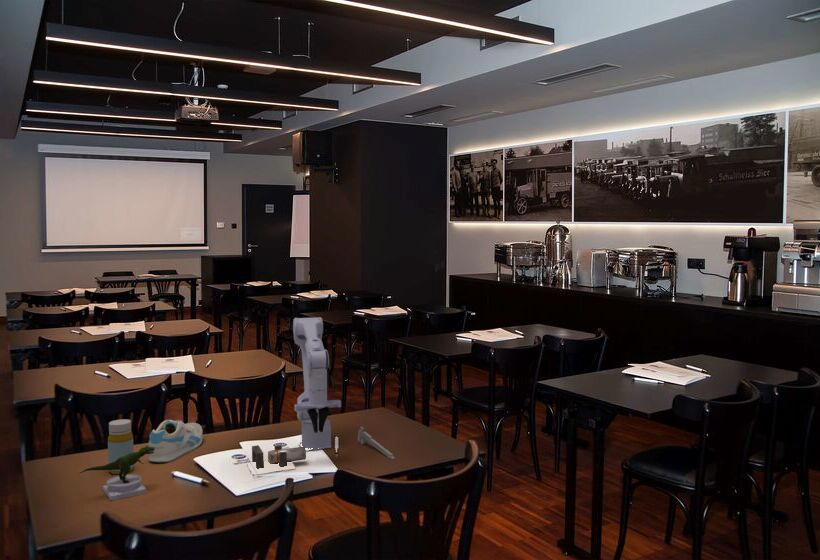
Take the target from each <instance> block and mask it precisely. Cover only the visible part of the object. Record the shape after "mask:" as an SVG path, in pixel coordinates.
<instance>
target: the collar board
mask: <svg viewBox="0 0 820 560" xmlns="http://www.w3.org/2000/svg"><path fill="white" fill-rule="evenodd" d="M281 449H283V445H282V444H279V445H278V444H277V445H274V450H281ZM264 461H265V460H264V452H263V450H262V448H261V447H260V445H259V444H258V445H251V462H256V468H257V469H259V468H264ZM279 466H280V467H284V466H287V452H286V451H283V452H279Z"/></svg>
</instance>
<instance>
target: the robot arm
mask: <svg viewBox="0 0 820 560" xmlns="http://www.w3.org/2000/svg"><path fill="white" fill-rule="evenodd" d="M292 331H293V341H294V344H295V345H297V346H299V348H300V352H301V359H302V360H301V361H302V373H303V389H304V391H303V392H302V393H301V394H300V395H299V396H298V397H297V401H296V404H294V411H295V412H296V416H297V420H299V421H301V443H302V446H303V447H305V448H308V449H309V448H310V449H311V448H313V449H317V450H322V449H323V450H324V449H330V448H332V427H331V421H330V420H329V419H328V416H329V414H330V411H331V410H330V408H341V407H342V401H341V400H340V399H329V400H328V369H329V366H330V357H329V352H328V350H327V349H325V347H324V344H323V341H322V339H323V333H324V322H323V318H322V317H320V316H319V317H302V318H301V317H294V319H293V321H292ZM318 448H319V449H318Z"/></svg>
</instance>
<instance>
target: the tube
mask: <svg viewBox="0 0 820 560" xmlns="http://www.w3.org/2000/svg"><path fill="white" fill-rule="evenodd" d="M283 451H286V452H287V462H292V463H293V462H299V461H305V460H306V459H307V451H306V450H305V447H300V446H297V447H289V448H282V449H281V450H275V449H274V450H269V451H268V452H267V460H268V462H269V463H270V464H278V463H279V452H283Z"/></svg>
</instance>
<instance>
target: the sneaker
mask: <svg viewBox="0 0 820 560" xmlns="http://www.w3.org/2000/svg"><path fill="white" fill-rule="evenodd" d="M202 427H203V426H202V425H200V424H199V423H197V422H187V423H184V422H183V421H182V420H172V419H166V420H163V421H162V422H161V423H160V424H159V425H158V427H157V428H156V429H152V431H150V434H149V440H148V447H154V449H155V450H154V453H152V454H148V455H149V456H148V461H149V462H152V463H169V462H173V461H175V460H177V459H179V458H180V457H182V456H184V455H185V454H188V453H190V452H192V451H194V450H196V449H197V448H199V447H200V446H202V443H203V439H204V436H203V434H204V433H203V428H202Z"/></svg>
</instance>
